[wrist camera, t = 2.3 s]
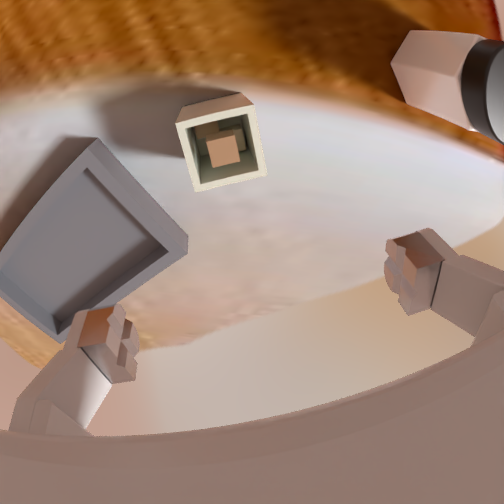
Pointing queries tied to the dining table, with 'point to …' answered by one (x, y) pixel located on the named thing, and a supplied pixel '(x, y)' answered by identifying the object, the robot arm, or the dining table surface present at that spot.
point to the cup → (221, 141)
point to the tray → (86, 244)
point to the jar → (454, 78)
